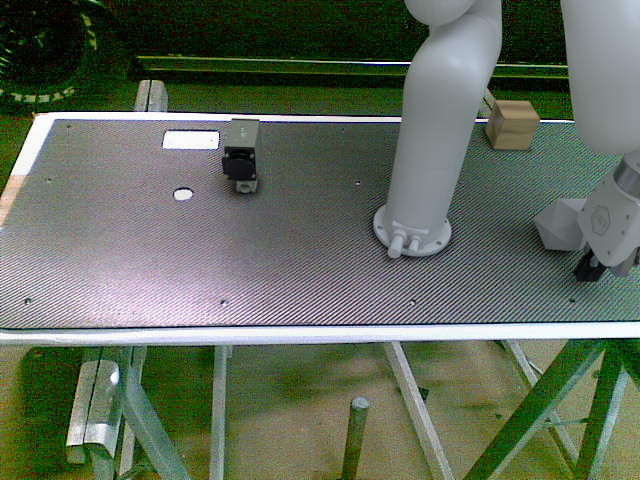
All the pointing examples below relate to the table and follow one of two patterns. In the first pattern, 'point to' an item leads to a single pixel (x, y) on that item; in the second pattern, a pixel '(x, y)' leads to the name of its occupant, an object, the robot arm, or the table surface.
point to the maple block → (512, 124)
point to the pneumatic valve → (242, 153)
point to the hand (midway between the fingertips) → (584, 277)
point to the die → (561, 225)
